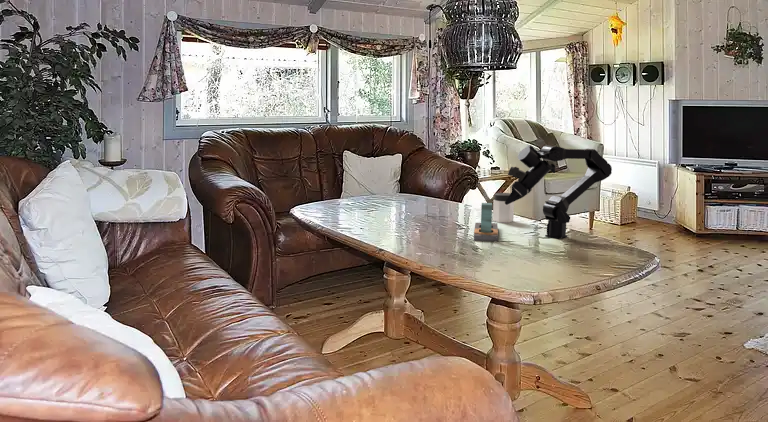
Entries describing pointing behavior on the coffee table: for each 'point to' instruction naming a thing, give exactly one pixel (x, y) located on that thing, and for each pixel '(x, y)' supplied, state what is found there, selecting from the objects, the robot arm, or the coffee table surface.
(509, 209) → the jar
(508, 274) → the coffee table surface
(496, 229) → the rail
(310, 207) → the coffee table surface
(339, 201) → the coffee table surface
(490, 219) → the peg
